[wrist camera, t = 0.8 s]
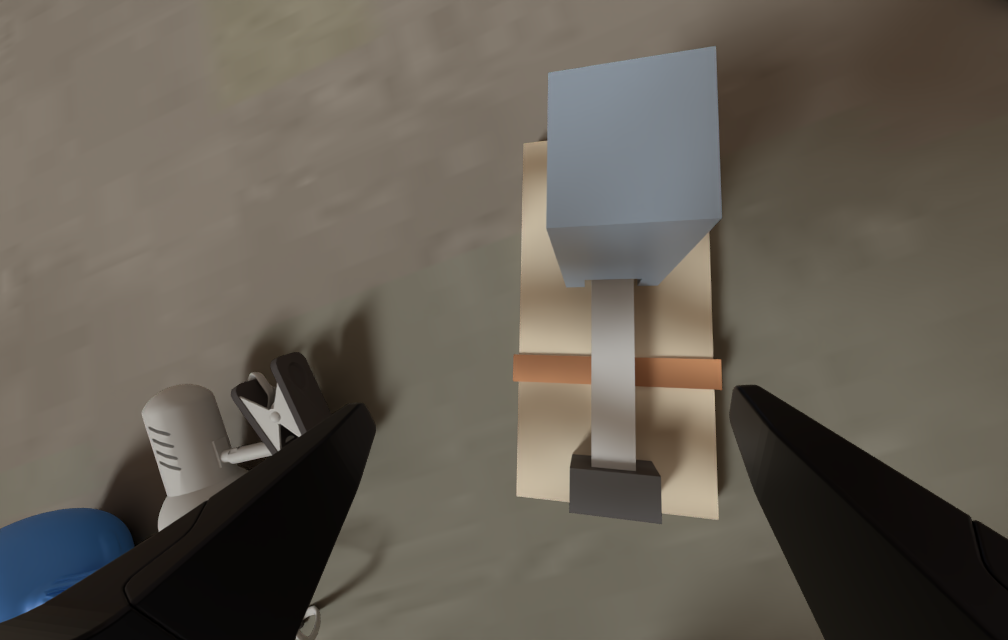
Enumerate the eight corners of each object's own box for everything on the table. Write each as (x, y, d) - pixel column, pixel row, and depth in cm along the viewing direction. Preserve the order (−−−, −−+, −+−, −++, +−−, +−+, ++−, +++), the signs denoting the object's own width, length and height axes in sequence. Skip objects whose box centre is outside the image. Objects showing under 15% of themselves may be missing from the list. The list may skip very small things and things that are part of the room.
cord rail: (715, 507, 19) (747, 547, 15) (516, 485, 21) (500, 514, 17) (703, 137, 21) (729, 87, 17) (523, 157, 23) (509, 117, 19)
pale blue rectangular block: (657, 285, 19) (722, 217, 10) (566, 287, 20) (546, 228, 11) (656, 193, 19) (715, 45, 10) (567, 200, 20) (548, 72, 11)
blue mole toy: (68, 658, 28) (-148, 783, 20) (67, 499, 30) (-132, 553, 21) (186, 656, 25) (-5, 798, 17) (177, 482, 27) (0, 536, 19)
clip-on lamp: (401, 588, 25) (330, 342, 24) (357, 689, 19) (257, 363, 18) (253, 612, 27) (177, 381, 25) (165, 715, 20) (58, 413, 19)
